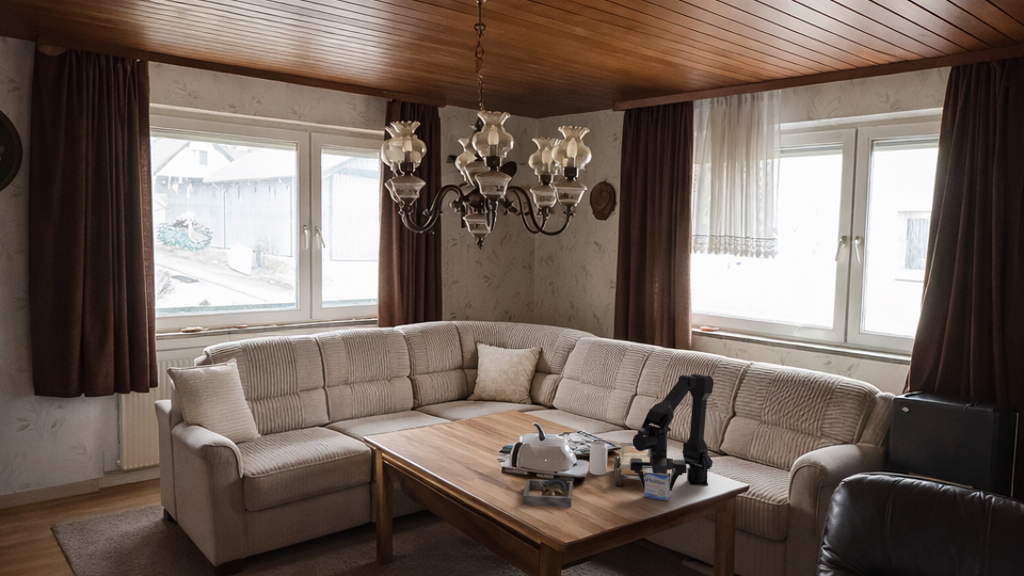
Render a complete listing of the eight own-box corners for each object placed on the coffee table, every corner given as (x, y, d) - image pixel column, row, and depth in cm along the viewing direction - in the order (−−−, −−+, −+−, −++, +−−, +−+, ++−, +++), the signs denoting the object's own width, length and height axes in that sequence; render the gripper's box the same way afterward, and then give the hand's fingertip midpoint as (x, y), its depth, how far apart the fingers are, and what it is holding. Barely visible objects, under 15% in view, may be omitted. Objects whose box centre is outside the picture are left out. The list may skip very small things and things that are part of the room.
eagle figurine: (548, 499, 238) (571, 490, 242) (540, 478, 241) (563, 470, 244) (542, 504, 245) (564, 495, 248) (534, 484, 247) (557, 476, 251)
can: (607, 471, 270) (608, 440, 270) (605, 476, 264) (606, 444, 263) (591, 469, 272) (591, 438, 271) (588, 474, 266) (588, 443, 265)
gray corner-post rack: (656, 471, 271) (657, 440, 270) (661, 490, 251) (662, 457, 250) (613, 469, 273) (614, 439, 272) (615, 487, 253) (616, 455, 252)
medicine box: (643, 497, 244) (644, 472, 243) (647, 493, 248) (648, 468, 247) (666, 501, 240) (667, 476, 240) (670, 497, 244) (670, 472, 244)
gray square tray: (572, 489, 250) (572, 481, 250) (571, 507, 235) (571, 498, 234) (527, 487, 252) (527, 479, 252) (522, 504, 236) (522, 495, 236)
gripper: (631, 451, 236) (630, 497, 237) (689, 454, 234) (688, 500, 235) (630, 441, 247) (629, 485, 248) (685, 444, 245) (684, 488, 246)
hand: (657, 490), depth 244 cm, fingers closed on medicine box, 9 cm apart
